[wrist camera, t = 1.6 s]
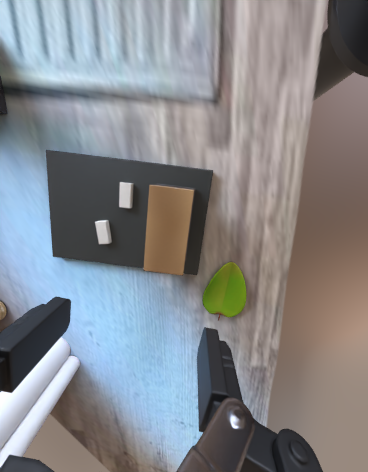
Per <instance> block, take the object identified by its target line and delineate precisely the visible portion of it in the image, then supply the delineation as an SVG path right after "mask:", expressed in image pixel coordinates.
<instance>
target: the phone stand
mask: <svg viewBox="0 0 368 472" xmlns="http://www.w3.org/2000/svg"><path fill="white" fill-rule="evenodd" d="M0 114H7V107H6V102H5V97H4V92H3V87H2V82H1V77H0Z"/></svg>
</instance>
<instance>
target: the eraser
mask: <svg viewBox="0 0 368 472" xmlns="http://www.w3.org/2000/svg"><path fill="white" fill-rule="evenodd" d="M194 195H195V188H189V187H181V186H173V185H165V184H156V185H149V198H148V213H147V227H146V242H145V256H144V271H152V272H160V273H168V274H175V275H183V271H184V264H185V261H186V256H187V248H188V241H189V233H190V225H191V218H192V210H193V203H194Z"/></svg>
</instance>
